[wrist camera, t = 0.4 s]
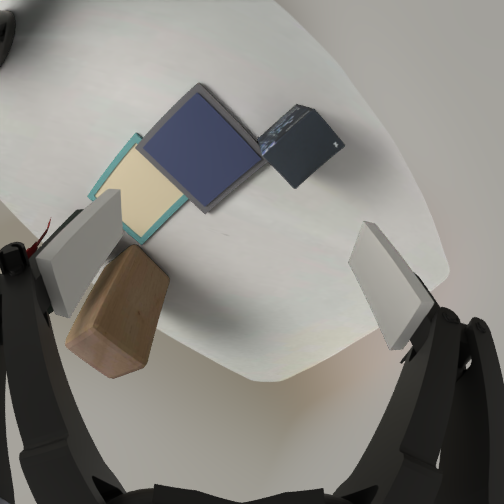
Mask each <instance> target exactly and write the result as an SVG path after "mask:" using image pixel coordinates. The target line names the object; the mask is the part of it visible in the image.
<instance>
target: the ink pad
mask: <svg viewBox="0 0 504 504" xmlns="http://www.w3.org/2000/svg"><path fill="white" fill-rule="evenodd" d="M135 149H136V150H138V151H139V152H140V153H141V154H142V155H143V156H144V157H145V158H146V159H147V160H148V161H149V162H150V163H151V164H152V165H153V166H154V167H155V168H157V169H158V170H159V171H160V172H161V173H162V174H163V175H164V176H165V177H166V178H167V179H168V180H169V181H170V182H171V183H172V184H173V185H174V186H176V187H177V188H178V189H179V190H180V191H181V192H182V193H183V194H184V195H185V196H186V197H187V198H188V199H189V200H190V201H191V202H193V203H194V204H195V205H196V206H197V207H198V208H199V209H200V210H201V211H202V212H203V213H204V214H206V213H207V212H208V211H210V210H211V209H212V208H213V207H214V206H215V205H216V204H218V203H219V202H220V201H221V200H222V199H223V198H225V197H226V196H227V195H228V194H229V193H231V192H232V191H233V190H234V189H235V188H236V187H238V186H239V185H240V184H241V183H242V182H244V181H245V180H246V179H247V178H249V177H250V176H251V175H252V174H253V173H255V172H256V171H257V170H258V169H260V168H261V167H262V166H263V165H265V164H266V163H267V162H268V161H267V160H266V159H265V158H264V157H263V156H262V154H261V150H260V147H259V144H258V143H257V142H256V141H255V140H254V139H253V138H252V136H251V135H250V134H249V133H248V132H247V131H246V130H245V129H244V128H243V127H242V126H241V125H240V124H239V122H238V121H237V120H236V119H235V118H234V117H233V116H232V115H231V114H230V113H229V112H228V111H227V110H226V109H225V108H224V107H223V106H222V105H221V104H220V103H219V102H218V101H217V100H216V99H215V98H214V97H213V96H212V95H211V94H210V93H209V92H208V91H207V90H206V89H205V88H204V87H203V86H202V85H201V84H200V83H197V84H196V85H195V86H194V87H193V88H192V89H191V90H190V91H188V92H187V93H186V94H185V95H184V96H183V97H182V98H181V99H180V100H179V101H178V102H177V103H176V104H175V105H174V106H173V107H172V108H171V109H170V110H169V111H168V112H167V113H166V114H165V115H164V116H163V117H162V118H161V119H160V120H159V121H158V122H157V123H156V124H155V125H154V127H153V128H152V129H151V130H150V131H149V132H148V133H147V134H146V135H145V136H144V138H143V139H142V140H141V141H140V142H139V143H138V144H137V146H136V147H135Z"/></svg>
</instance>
